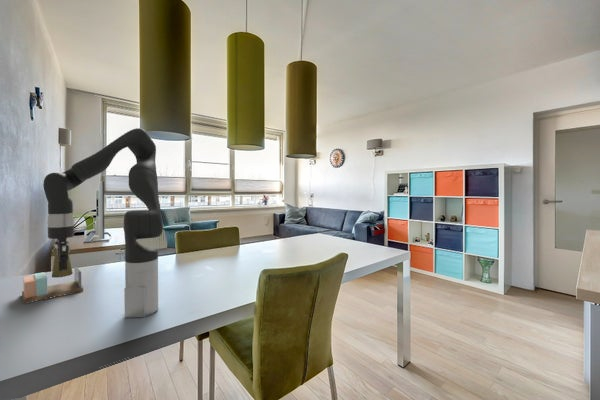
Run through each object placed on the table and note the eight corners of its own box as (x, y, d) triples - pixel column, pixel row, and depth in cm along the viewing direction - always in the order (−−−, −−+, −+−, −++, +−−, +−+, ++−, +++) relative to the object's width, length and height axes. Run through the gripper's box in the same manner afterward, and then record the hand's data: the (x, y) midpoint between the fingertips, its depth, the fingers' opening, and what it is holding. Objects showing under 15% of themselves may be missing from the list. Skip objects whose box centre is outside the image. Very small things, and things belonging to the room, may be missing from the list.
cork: (75, 274, 103) (74, 246, 102) (55, 278, 98) (54, 249, 97) (69, 271, 106) (68, 244, 105) (49, 275, 101) (48, 247, 100)
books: (25, 298, 91) (24, 281, 91) (23, 291, 97) (23, 275, 97) (47, 293, 95) (47, 277, 95) (44, 287, 101) (44, 272, 101)
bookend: (78, 287, 102) (78, 272, 102) (74, 281, 108) (74, 267, 108) (81, 286, 103) (81, 271, 102) (77, 281, 109) (76, 266, 108)
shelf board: (23, 304, 90) (23, 299, 90) (22, 295, 98) (22, 291, 98) (83, 291, 102) (83, 287, 102) (77, 284, 110) (77, 280, 110)
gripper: (77, 226, 99) (78, 271, 100) (70, 222, 108) (71, 263, 109) (49, 228, 93) (51, 275, 94) (45, 224, 103) (46, 267, 104)
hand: (62, 269), depth 102 cm, fingers closed on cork, 4 cm apart
